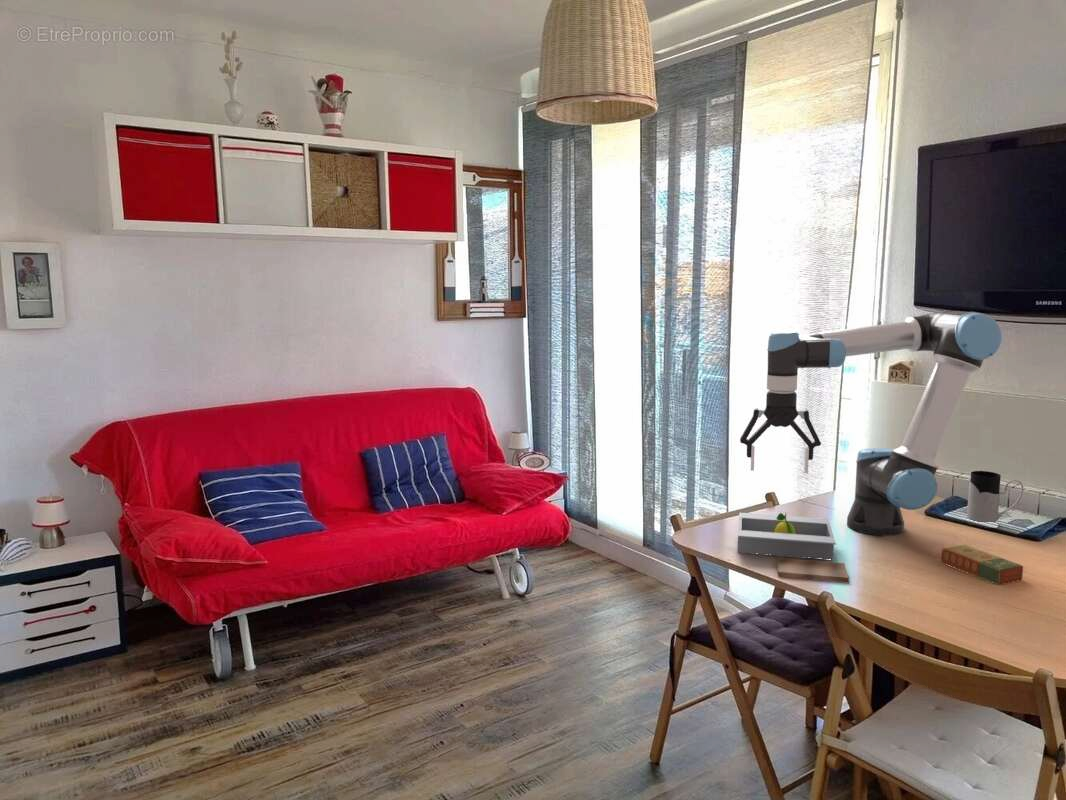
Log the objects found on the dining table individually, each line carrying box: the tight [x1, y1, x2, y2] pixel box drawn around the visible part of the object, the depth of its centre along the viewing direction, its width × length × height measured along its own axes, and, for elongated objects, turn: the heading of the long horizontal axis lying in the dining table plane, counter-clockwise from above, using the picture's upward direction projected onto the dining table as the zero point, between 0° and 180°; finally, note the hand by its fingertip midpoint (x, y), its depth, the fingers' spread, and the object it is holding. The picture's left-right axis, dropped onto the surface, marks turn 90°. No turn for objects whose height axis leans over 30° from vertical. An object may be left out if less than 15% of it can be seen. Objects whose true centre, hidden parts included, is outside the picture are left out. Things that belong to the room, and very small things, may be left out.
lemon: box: [774, 512, 796, 534], centre depth 211 cm, size 7×6×10 cm
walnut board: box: [776, 557, 850, 583], centre depth 195 cm, size 16×10×1 cm, turn 75°
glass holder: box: [966, 470, 1024, 522], centre depth 230 cm, size 9×14×15 cm, turn 74°
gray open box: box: [737, 512, 837, 561], centre depth 212 cm, size 24×21×6 cm
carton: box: [940, 544, 1024, 585], centre depth 195 cm, size 8×16×4 cm, turn 22°
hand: (778, 470), depth 211 cm, fingers open, 13 cm apart
